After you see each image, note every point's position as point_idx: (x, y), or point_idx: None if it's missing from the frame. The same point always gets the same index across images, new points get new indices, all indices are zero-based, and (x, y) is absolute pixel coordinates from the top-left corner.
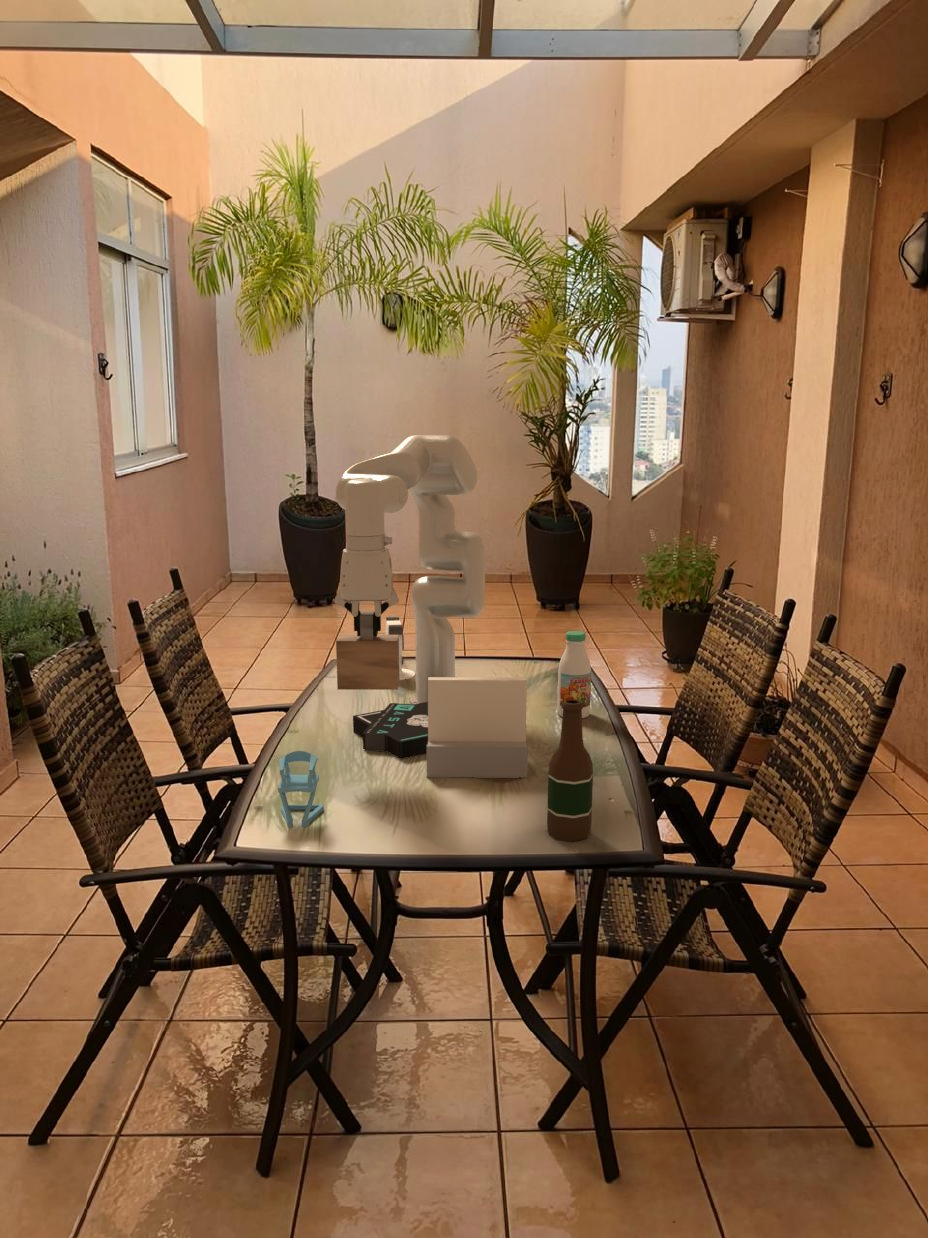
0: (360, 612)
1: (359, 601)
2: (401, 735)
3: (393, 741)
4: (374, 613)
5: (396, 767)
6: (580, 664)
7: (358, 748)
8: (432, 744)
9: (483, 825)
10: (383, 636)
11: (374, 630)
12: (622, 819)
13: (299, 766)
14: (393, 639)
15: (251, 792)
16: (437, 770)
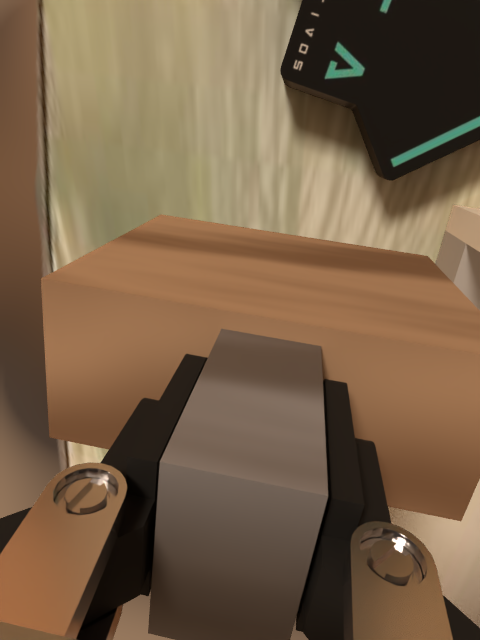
0: (146, 523)
1: (68, 636)
2: (402, 113)
3: (370, 144)
4: (311, 633)
5: (357, 241)
6: None
7: (270, 69)
8: (470, 274)
9: (465, 544)
10: (385, 394)
11: None
12: None
13: (123, 202)
14: (445, 484)
15: None
16: None
